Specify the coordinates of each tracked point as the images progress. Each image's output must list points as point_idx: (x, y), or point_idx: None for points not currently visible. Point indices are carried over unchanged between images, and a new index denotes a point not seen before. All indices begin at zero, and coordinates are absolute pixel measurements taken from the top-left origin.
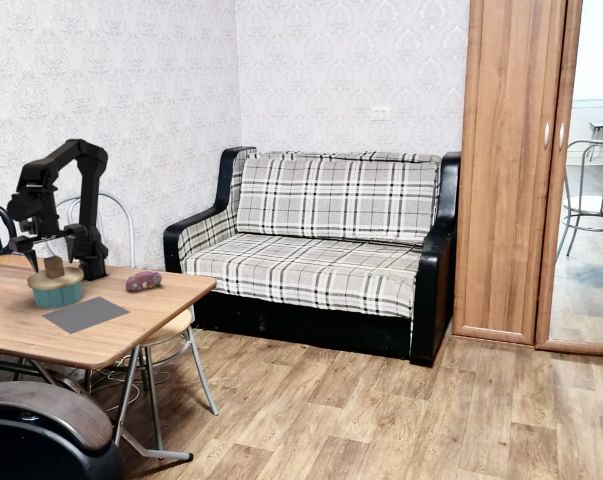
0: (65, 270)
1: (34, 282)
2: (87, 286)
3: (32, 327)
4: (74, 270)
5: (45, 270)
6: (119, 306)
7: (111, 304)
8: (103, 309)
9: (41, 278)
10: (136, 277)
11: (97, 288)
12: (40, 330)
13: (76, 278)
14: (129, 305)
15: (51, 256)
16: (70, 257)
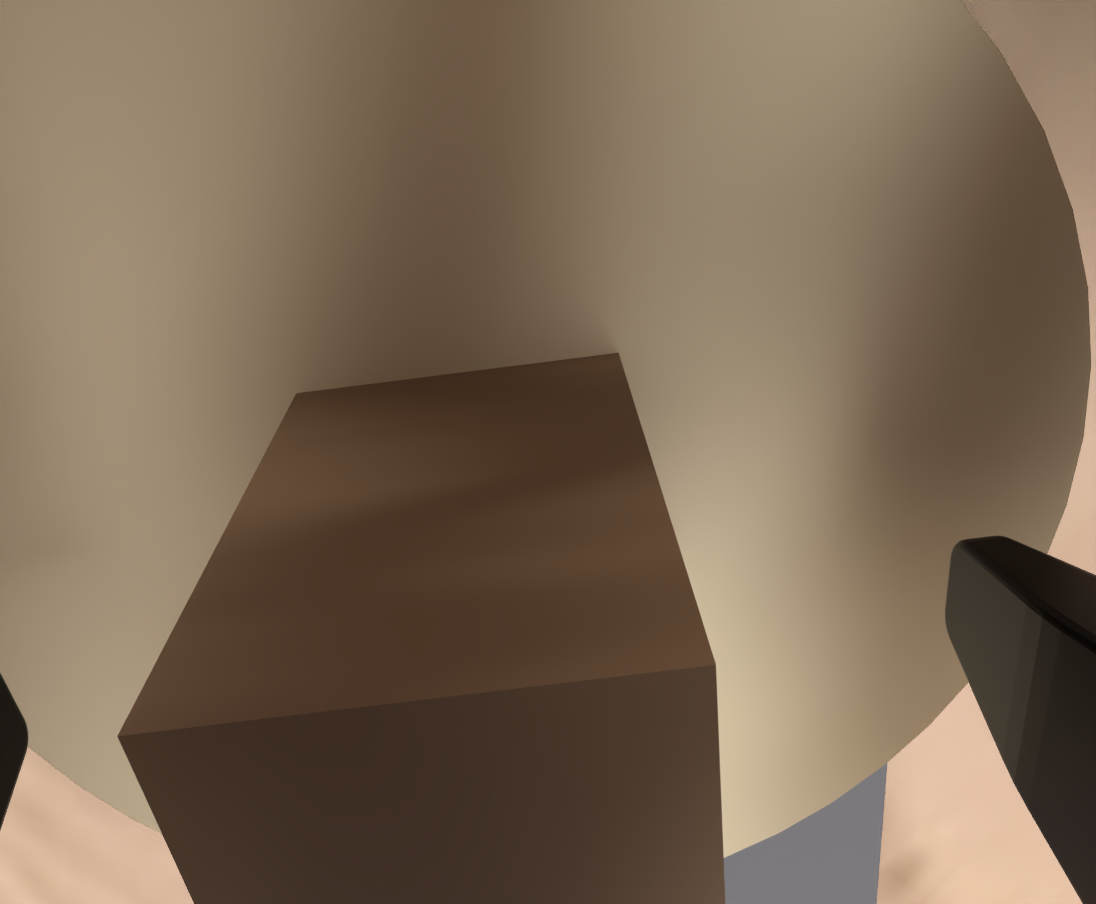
0: (798, 311)
1: (4, 598)
2: (1054, 14)
3: (73, 801)
4: (935, 457)
5: (260, 481)
6: (874, 899)
7: (853, 831)
8: (738, 876)
9: (168, 473)
10: None
11: (1085, 230)
12: (139, 884)
13: (726, 855)
14: (963, 877)
15: (494, 699)
16: (1048, 797)
